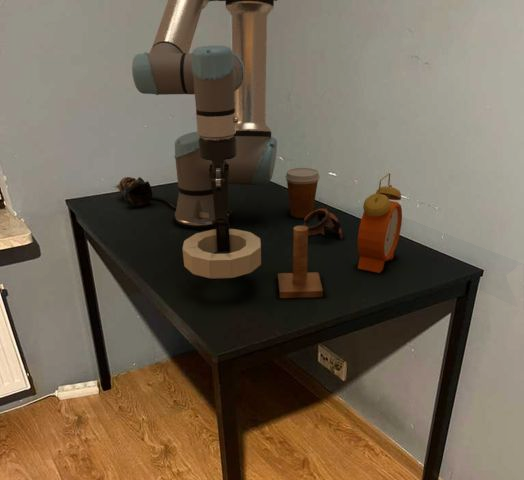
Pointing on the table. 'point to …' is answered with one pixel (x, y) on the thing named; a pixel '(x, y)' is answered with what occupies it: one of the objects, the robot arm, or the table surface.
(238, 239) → the ring
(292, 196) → the disposable coffee cup
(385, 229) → the alarm clock
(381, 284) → the table surface
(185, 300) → the table surface
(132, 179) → the figurine
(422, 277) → the table surface
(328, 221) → the pottery mug
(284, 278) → the stand
